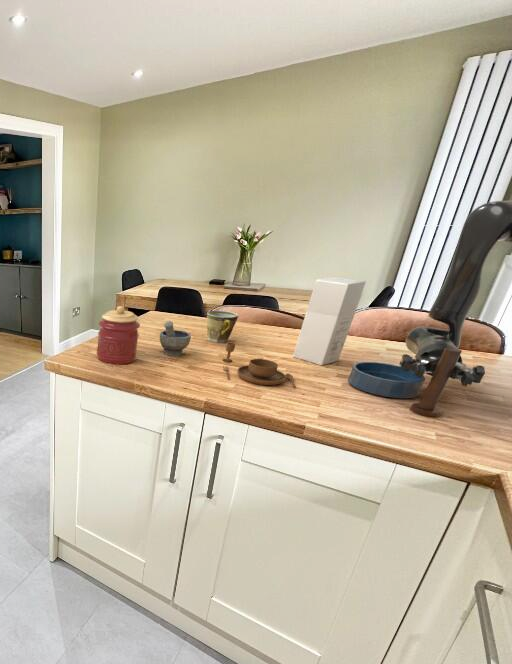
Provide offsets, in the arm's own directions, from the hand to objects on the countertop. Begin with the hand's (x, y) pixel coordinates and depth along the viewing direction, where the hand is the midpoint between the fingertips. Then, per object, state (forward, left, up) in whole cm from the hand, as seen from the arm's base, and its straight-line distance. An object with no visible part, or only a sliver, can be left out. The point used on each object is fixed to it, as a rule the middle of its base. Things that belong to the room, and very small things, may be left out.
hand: (443, 378), depth 89 cm
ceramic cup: (+53, -30, -10) cm, 62 cm away
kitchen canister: (+75, +8, -10) cm, 76 cm away
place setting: (+36, -5, -10) cm, 38 cm away
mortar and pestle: (+62, -7, -10) cm, 63 cm away
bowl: (+8, -13, -10) cm, 18 cm away
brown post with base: (0, -2, -10) cm, 10 cm away
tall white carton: (+24, -29, -10) cm, 39 cm away
